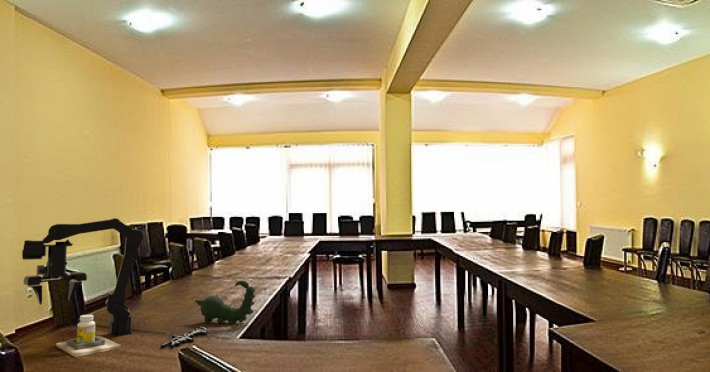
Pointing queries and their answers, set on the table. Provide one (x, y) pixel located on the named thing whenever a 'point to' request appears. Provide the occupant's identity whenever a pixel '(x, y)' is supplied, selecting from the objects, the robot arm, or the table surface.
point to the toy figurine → (227, 307)
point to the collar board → (88, 346)
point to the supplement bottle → (86, 329)
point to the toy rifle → (184, 338)
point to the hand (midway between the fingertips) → (55, 302)
